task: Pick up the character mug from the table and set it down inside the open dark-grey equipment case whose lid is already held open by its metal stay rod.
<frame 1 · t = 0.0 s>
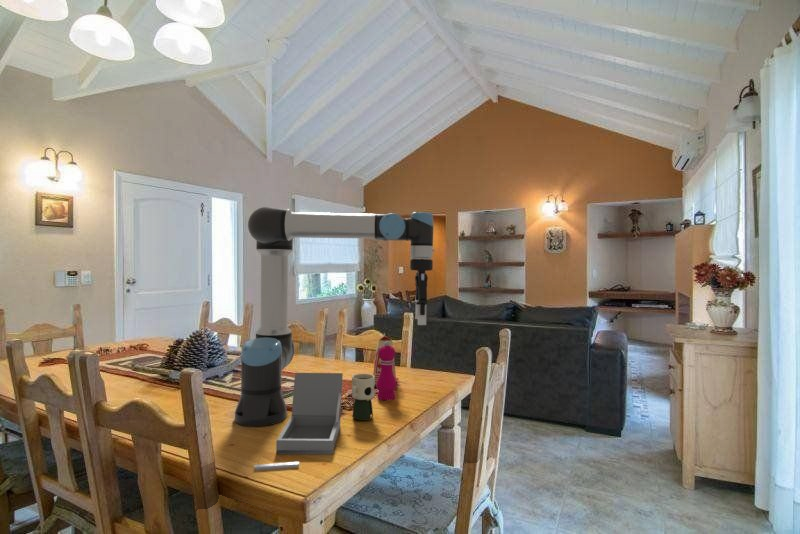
hand: (420, 321, 147), 28 cm above the table, tool pointing down, fingers open, 13 cm apart
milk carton: (384, 382, 173), on the table
case: (310, 440, 118), on the table
character mug: (362, 419, 134), on the table
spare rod: (277, 469, 102), on the table
pepper mill: (386, 398, 154), on the table
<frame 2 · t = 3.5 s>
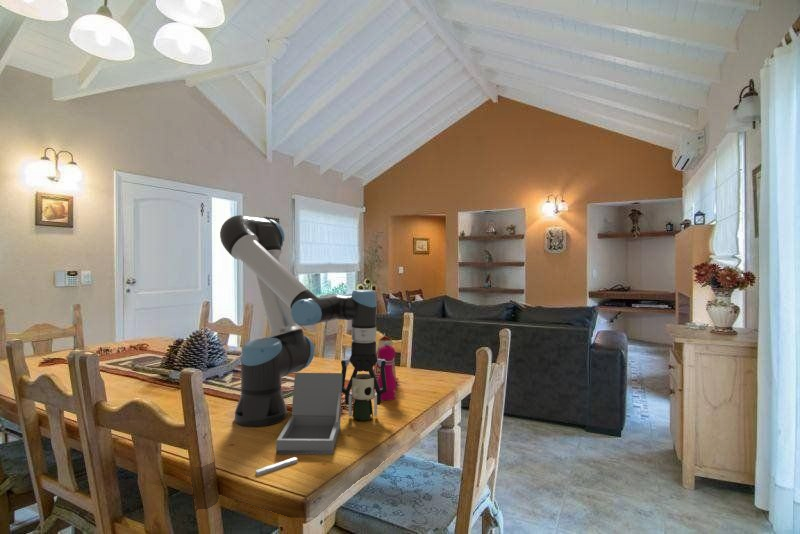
hand: (362, 414, 134), 1 cm above the table, tool pointing down, fingers closed on character mug, 7 cm apart
character mug: (362, 419, 134), on the table, touching gripper
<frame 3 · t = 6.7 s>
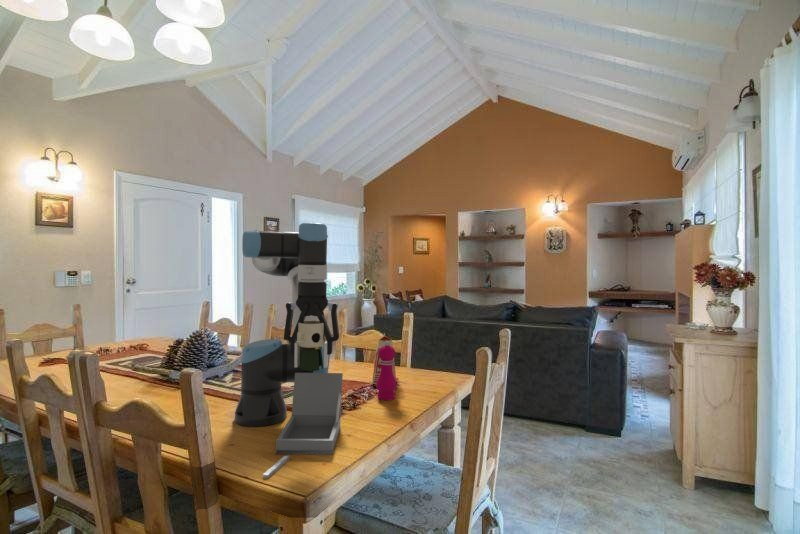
hand: (311, 366, 117), 20 cm above the table, tool pointing down, fingers closed on character mug, 7 cm apart
character mug: (311, 371, 117), point 19 cm above the table, touching gripper
when the fingers open (4 cm above the table, at t = 9.9 s): character mug drops 2 cm, resting on case.
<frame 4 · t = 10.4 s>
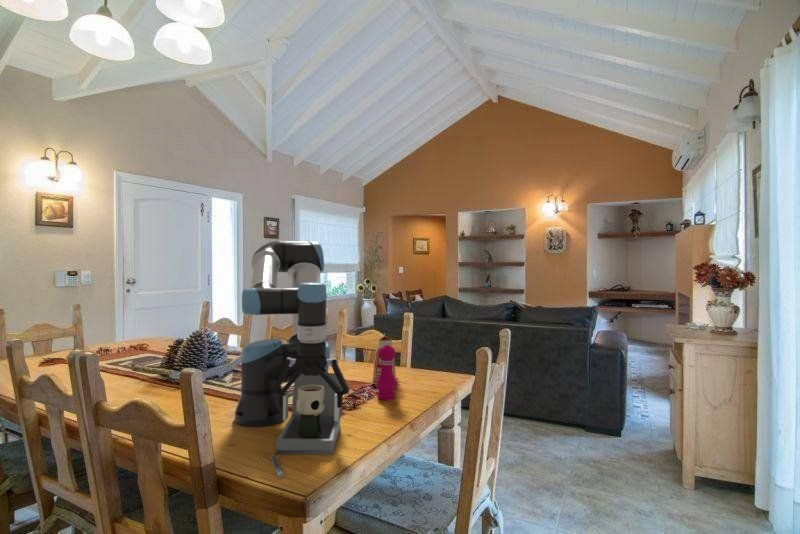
hand: (310, 419, 118), 6 cm above the table, tool pointing down, fingers open, 13 cm apart
character mug: (309, 436, 118), point 1 cm above the table, touching case
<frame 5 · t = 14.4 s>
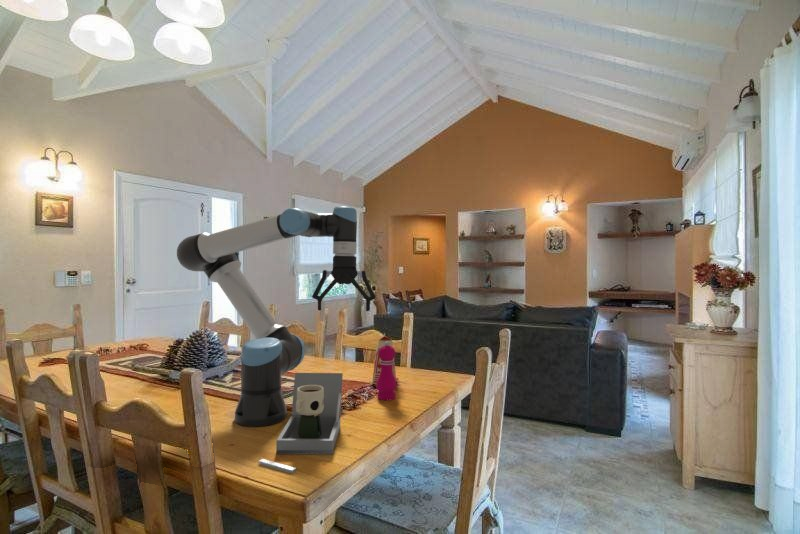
hand: (343, 321, 141), 29 cm above the table, tool pointing down, fingers open, 13 cm apart
at the end: character mug inside the target area on the case (0.2 cm from its centre), point 0.8 cm above the case's base; character mug tilted 0°; the gripper is holding nothing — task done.
